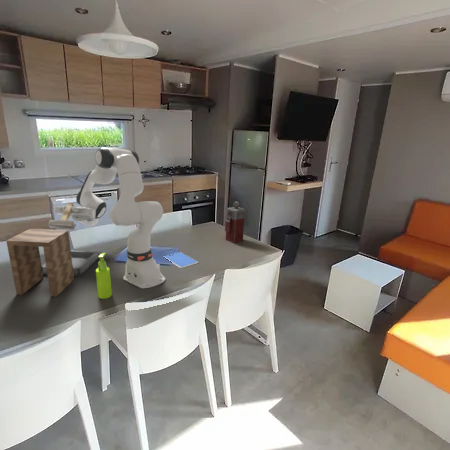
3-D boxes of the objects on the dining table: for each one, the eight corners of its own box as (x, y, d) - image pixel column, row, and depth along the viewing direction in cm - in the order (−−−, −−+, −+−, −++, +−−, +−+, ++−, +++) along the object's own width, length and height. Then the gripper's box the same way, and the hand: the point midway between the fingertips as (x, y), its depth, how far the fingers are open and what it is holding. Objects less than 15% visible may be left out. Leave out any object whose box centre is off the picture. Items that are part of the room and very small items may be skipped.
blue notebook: (162, 258, 180) (162, 256, 180) (180, 253, 189) (180, 251, 188) (180, 269, 167) (180, 267, 167) (198, 263, 175) (198, 261, 175)
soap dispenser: (114, 290, 142) (111, 251, 136) (109, 298, 135) (106, 258, 129) (101, 290, 141) (98, 251, 135) (96, 298, 135) (92, 257, 129)
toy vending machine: (222, 240, 212) (224, 201, 203) (234, 237, 219) (236, 199, 210) (231, 244, 205) (233, 204, 197) (243, 240, 213) (245, 202, 204)
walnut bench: (38, 277, 150) (30, 228, 142) (74, 279, 150) (68, 230, 142) (16, 294, 135) (6, 240, 127) (56, 296, 135) (48, 242, 127)
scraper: (61, 205, 162) (58, 201, 159) (83, 206, 162) (80, 202, 159) (50, 228, 154) (47, 224, 151) (73, 229, 153) (71, 225, 150)
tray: (64, 256, 175) (63, 250, 174) (98, 258, 175) (97, 251, 174) (41, 273, 154) (40, 266, 153) (80, 275, 154) (79, 268, 153)
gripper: (63, 208, 172) (49, 201, 159) (98, 209, 172) (87, 203, 158) (61, 218, 171) (47, 212, 157) (97, 220, 171) (86, 214, 157)
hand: (67, 208), depth 158 cm, fingers closed on scraper, 2 cm apart
